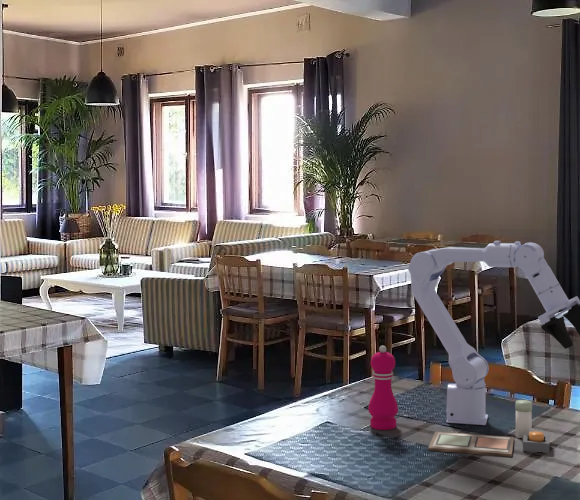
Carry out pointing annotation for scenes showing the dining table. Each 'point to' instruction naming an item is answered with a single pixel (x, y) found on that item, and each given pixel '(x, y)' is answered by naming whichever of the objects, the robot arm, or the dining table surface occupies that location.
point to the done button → (536, 436)
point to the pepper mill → (383, 392)
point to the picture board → (472, 444)
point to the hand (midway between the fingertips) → (577, 341)
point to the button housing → (535, 444)
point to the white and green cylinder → (523, 418)
